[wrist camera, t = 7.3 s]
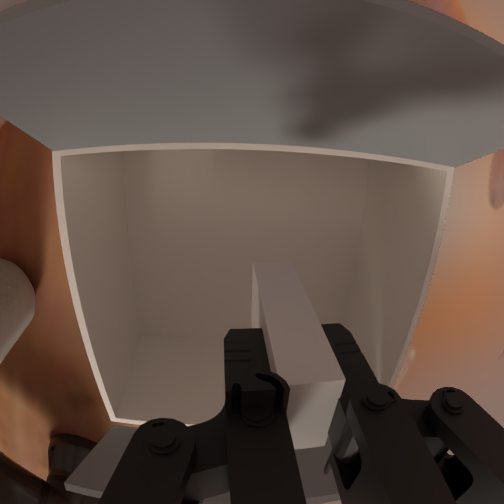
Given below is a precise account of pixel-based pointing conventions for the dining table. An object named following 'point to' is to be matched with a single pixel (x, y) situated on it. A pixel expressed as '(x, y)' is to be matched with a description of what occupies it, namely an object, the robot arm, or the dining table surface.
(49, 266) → the dining table surface
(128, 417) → the carton
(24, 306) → the grey bottle
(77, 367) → the dining table surface
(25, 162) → the dining table surface
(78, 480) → the flap
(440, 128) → the flap
